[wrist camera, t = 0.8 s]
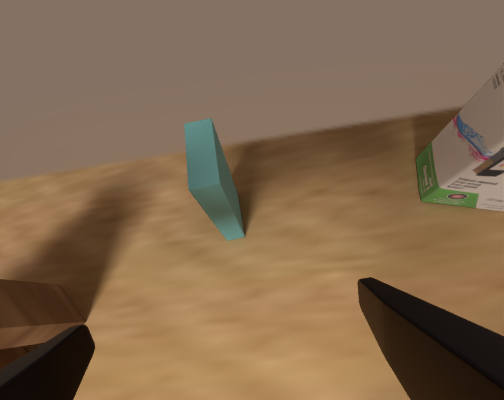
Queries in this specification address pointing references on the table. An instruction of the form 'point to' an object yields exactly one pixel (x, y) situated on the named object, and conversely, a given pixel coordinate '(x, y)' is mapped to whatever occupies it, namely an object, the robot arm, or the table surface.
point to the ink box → (468, 154)
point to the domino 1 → (11, 355)
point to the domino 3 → (212, 178)
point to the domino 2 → (34, 313)
